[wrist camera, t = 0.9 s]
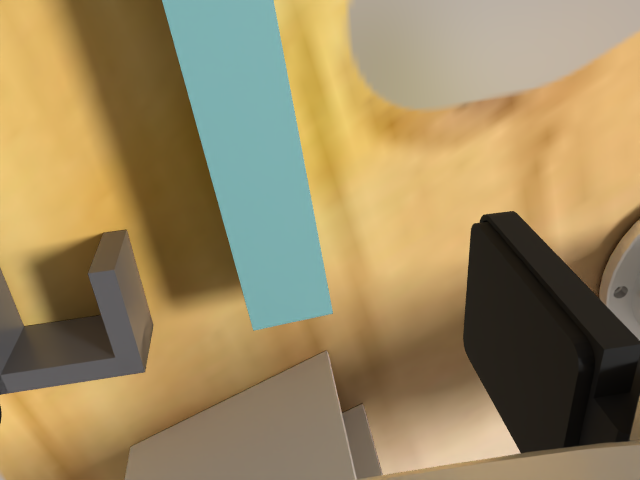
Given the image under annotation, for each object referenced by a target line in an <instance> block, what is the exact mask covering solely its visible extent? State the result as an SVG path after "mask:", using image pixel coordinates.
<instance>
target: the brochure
mask: <svg viewBox="0 0 640 480" xmlns="http://www.w3.org/2000/svg"><path fill="white" fill-rule="evenodd" d="M381 475H383V474H382V471H381V467H380V463H379V460H378V456H377V452H376V449H375V445H374V441H373V438H372V434H371V430H370V426H369V423H368V419H367V415H366V412H365V408H364V406H363V404H361V405H358V406H356V407H354V408H352V409H350V410H348V411H346V412H344V413H342V411H341V407H340V402H339V398H338V393H337V389H336V385H335V380H334V376H333V371H332V367H331V362H330V358H329V354H328V352H327V351H324V352H322V353H320V354H318V355H316V356H314V357H312V358H310V359H308V360H306V361H304V362H302V363H300V364H298V365H296V366H294V367H292V368H290V369H288V370H286V371H284V372H282V373H280V374H278V375H276V376H273V377H271V378H269V379H267V380H265V381H263V382H261V383H259V384H257V385H255V386H253V387H251V388H249V389H247V390H245V391H243V392H241V393H239V394H237V395H235V396H233V397H231V398H229V399H227V400H225V401H223V402H221V403H219V404H217V405H214V406H212V407H210V408H208V409H206V410H204V411H202V412H200V413H198V414H196V415H194V416H192V417H190V418H188V419H186V420H184V421H182V422H180V423H178V424H176V425H174V426H172V427H170V428H168V429H166V430H164V431H162V432H160V433H158V434H155V435H153V436H151V437H149V438H147V439H145V440H143V441H141V442H139V443H137V444H135V445H133V446H131V447H130V452H129V457H128V463H127V468H126V474H125V479H124V480H356V479H362V478H368V477H375V476H381Z"/></svg>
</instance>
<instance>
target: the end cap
mask: <svg viewBox="0 0 640 480" xmlns="http://www.w3.org/2000/svg"><path fill="white" fill-rule="evenodd" d="M88 276H89V279H90V282H91V285H92V288H93V291H94V294H95V297H96V300H97V303H98V306H99V309H100V313H101V315H99V316H92V317H85V318H78V319H71V320H65V321H58V322H51V323H44V324H37V325H31V326H24V325H23V323H22V320H21V318H20V315H19V313H18V310H17V308H16V305H15V303H14V300H13V298H12V296H11V293H10V291H9V288H8V286H7V283H6V281H5V278H4V276H3V274H2V271H1V269H0V395H1V394H7V393H14V392H20V391H27V390H33V389H40V388H46V387H53V386H59V385H65V384H72V383H78V382H85V381H91V380H98V379H104V378H111V377H117V376H124V375H130V374H137V373H143V372H145V369H146V364H147V358H148V353H149V347H150V341H151V336H152V330H153V322H152V318H151V315H150V311H149V308H148V304H147V300H146V297H145V293H144V290H143V286H142V282H141V279H140V275H139V272H138V268H137V264H136V261H135V257H134V254H133V250H132V246H131V243H130V239H129V236H128V232H127V230H121V231H114V232H107V233H103V235H102V238H101V240H100V243H99V246H98V248H97V251H96V253H95V256H94V259H93V261H92V264H91V266H90V269H89V272H88Z"/></svg>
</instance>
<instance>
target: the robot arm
mask: <svg viewBox="0 0 640 480" xmlns="http://www.w3.org/2000/svg"><path fill="white" fill-rule="evenodd" d="M463 341H464V347H465V351H466V354H467V356H468V358H469V360H470V362H471V363H472V365H473V367H474V369H475V371H476V373H477V374H478V376H479V378H480V380H481V382H482V383H483V385H484V387H485V389H486V391H487V392H488V394H489V396H490V398H491V400H492V401H493V403H494V405H495V407H496V409H497V411H498V412H499V414H500V416H501V418H502V420H503V421H504V423H505V425H506V427H507V429H508V430H509V432H510V434H511V436H512V438H513V440H514V441H515V443H516V445H517V447H518V449H519V450H520V452H521V453H520V454H514V455H508V456H502V457H496V458H489V459H482V460H476V461H469V462H462V463H456V464H450V465H443V466H437V467H431V468H425V469H418V470H412V471H406V472H400V473H393V474H387V475H381V476H375V477H368V478H362V479H356V480H640V219H639V220H638V221H637V222H636V223H635V224H634V225H633V226H632V227H631V228H630V230H629V231H628V232H627V233H626V234H625V235H624V237H623V238H622V239H621V240H620V242H619V244H618V245H617V247H616V248H615V250H614V251H613V253H612V255H611V256H610V258H609V261H608V263H607V265H606V268H605V270H604V272H603V276H602V280H601V285H600V290H599V298H598V297H597V296H596V295H595V294H594V293H593V292H592V291H591V290H590V289H589V288H588V287H587V285H586V284H585V283H584V282H583V281H582V280H581V279H580V278H579V277H578V276H577V275H576V274H575V273H574V272H573V271H572V270H571V269H570V268H569V267H568V266H567V265H566V264H565V263H564V262H563V261H562V260H561V259H560V258H559V256H558V255H557V254H556V253H555V252H554V251H553V250H552V249H551V248H550V247H549V246H548V245H547V244H546V243H545V242H544V241H543V240H542V239H541V238H540V237H539V236H538V235H537V234H536V233H535V232H534V231H533V230H532V229H531V227H530V226H529V225H528V224H527V223H526V222H525V221H524V220H523V219H522V218H521V217H520V216H519V215H518V214H517V213H516V212H514V211H510V212H502V213H494V214H486V215H483V216H482V217H481V220H480V223H475V224H473V226H472V228H471V237H470V251H469V265H468V278H467V292H466V306H465V320H464V333H463ZM0 423H1V406H0Z"/></svg>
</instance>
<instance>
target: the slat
mask: <svg viewBox="0 0 640 480" xmlns="http://www.w3.org/2000/svg"><path fill="white" fill-rule="evenodd" d="M162 2H163V6H164V9H165V13H166V17H167V20H168V24H169V27H170V31H171V35H172V38H173V42H174V45H175V49H176V53H177V56H178V60H179V64H180V67H181V71H182V74H183V78H184V82H185V85H186V89H187V92H188V96H189V100H190V103H191V107H192V110H193V114H194V118H195V121H196V125H197V129H198V132H199V136H200V139H201V143H202V147H203V150H204V154H205V157H206V161H207V165H208V168H209V172H210V176H211V179H212V183H213V186H214V190H215V194H216V197H217V201H218V204H219V208H220V212H221V215H222V219H223V223H224V226H225V230H226V233H227V237H228V241H229V244H230V248H231V251H232V255H233V259H234V262H235V266H236V269H237V273H238V277H239V280H240V284H241V288H242V291H243V295H244V298H245V302H246V306H247V309H248V313H249V316H250V320H251V324H252V327H253V331H254V330H258V329H263V328H268V327H272V326H277V325H282V324H286V323H291V322H296V321H300V320H305V319H310V318H314V317H319V316H324V315H328V314H333V311H332V306H331V301H330V295H329V290H328V285H327V280H326V274H325V269H324V264H323V259H322V253H321V248H320V243H319V238H318V232H317V227H316V222H315V217H314V211H313V206H312V201H311V196H310V190H309V185H308V180H307V175H306V169H305V164H304V159H303V153H302V148H301V143H300V138H299V132H298V127H297V122H296V117H295V111H294V106H293V101H292V96H291V90H290V85H289V80H288V75H287V69H286V64H285V59H284V54H283V48H282V43H281V38H280V33H279V27H278V22H277V17H276V12H275V6H274V1H273V0H162Z"/></svg>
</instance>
